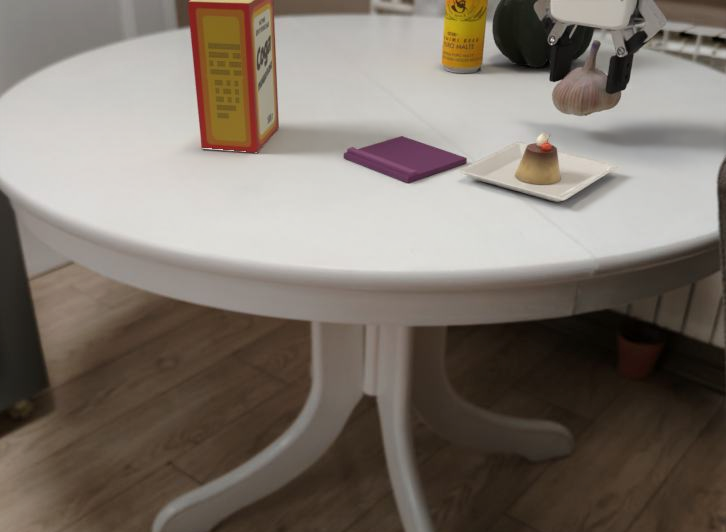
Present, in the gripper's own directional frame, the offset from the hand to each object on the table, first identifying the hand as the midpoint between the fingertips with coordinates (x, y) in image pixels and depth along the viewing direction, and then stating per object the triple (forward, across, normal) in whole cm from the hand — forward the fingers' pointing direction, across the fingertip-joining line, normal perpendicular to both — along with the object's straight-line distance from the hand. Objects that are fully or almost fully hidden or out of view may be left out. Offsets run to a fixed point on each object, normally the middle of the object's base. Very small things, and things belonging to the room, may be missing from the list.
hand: (587, 84), depth 92 cm
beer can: (+6, +31, -14) cm, 34 cm away
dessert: (+6, -5, +15) cm, 17 cm away
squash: (+6, +26, -26) cm, 37 cm away
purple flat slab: (+6, +8, +22) cm, 23 cm away
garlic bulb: (+3, 0, 0) cm, 3 cm away
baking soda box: (+5, +26, +30) cm, 40 cm away
